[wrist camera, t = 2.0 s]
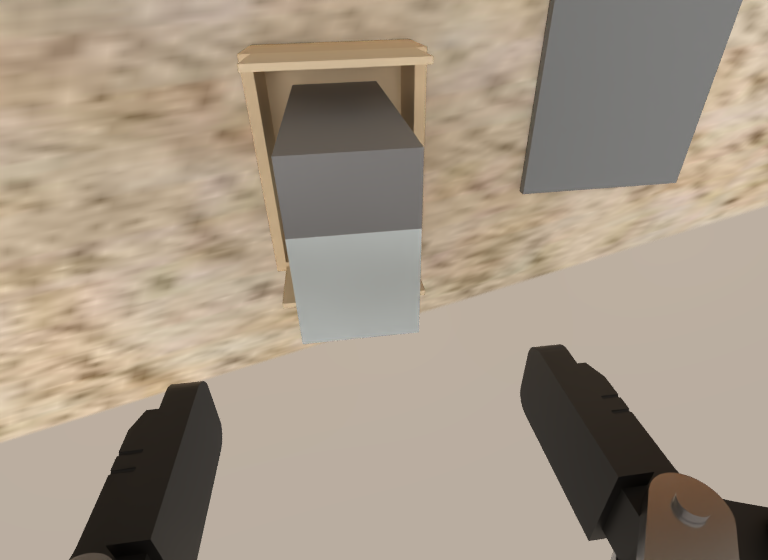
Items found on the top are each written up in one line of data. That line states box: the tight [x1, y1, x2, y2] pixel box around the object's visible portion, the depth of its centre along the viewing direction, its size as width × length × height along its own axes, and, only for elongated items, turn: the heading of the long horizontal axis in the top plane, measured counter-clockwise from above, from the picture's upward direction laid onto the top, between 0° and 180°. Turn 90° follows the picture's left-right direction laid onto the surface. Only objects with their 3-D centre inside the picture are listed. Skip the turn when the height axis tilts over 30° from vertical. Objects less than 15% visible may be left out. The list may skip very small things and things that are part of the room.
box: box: [271, 81, 424, 344], centre depth 22 cm, size 8×5×14 cm, turn 1°
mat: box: [520, 0, 742, 194], centre depth 29 cm, size 12×12×1 cm
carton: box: [237, 39, 433, 308], centre depth 25 cm, size 12×9×9 cm
